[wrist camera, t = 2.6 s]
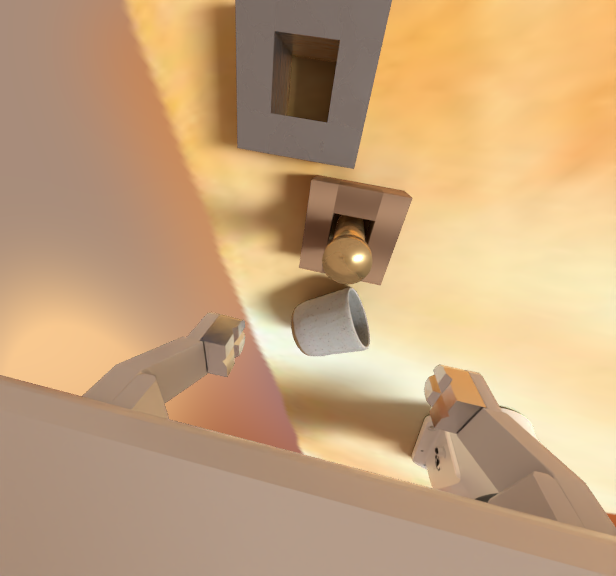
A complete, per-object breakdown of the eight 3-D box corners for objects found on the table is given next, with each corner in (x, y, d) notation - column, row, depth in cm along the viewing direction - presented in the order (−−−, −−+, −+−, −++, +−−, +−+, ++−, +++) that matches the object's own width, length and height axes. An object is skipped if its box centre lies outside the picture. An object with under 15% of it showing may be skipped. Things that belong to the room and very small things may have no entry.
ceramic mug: (294, 294, 33) (279, 332, 26) (349, 275, 30) (348, 312, 23) (326, 347, 37) (320, 390, 31) (377, 335, 34) (383, 380, 27)
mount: (377, 269, 28) (380, 285, 25) (305, 253, 29) (299, 267, 26) (404, 190, 24) (412, 198, 20) (317, 175, 24) (311, 179, 21)
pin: (362, 244, 27) (364, 288, 19) (330, 238, 28) (318, 278, 19) (371, 211, 25) (378, 244, 17) (337, 205, 26) (327, 234, 17)
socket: (354, 164, 23) (354, 168, 19) (258, 147, 24) (237, 148, 20) (387, 20, 18) (396, -19, 14) (262, 3, 19) (234, -38, 15)
